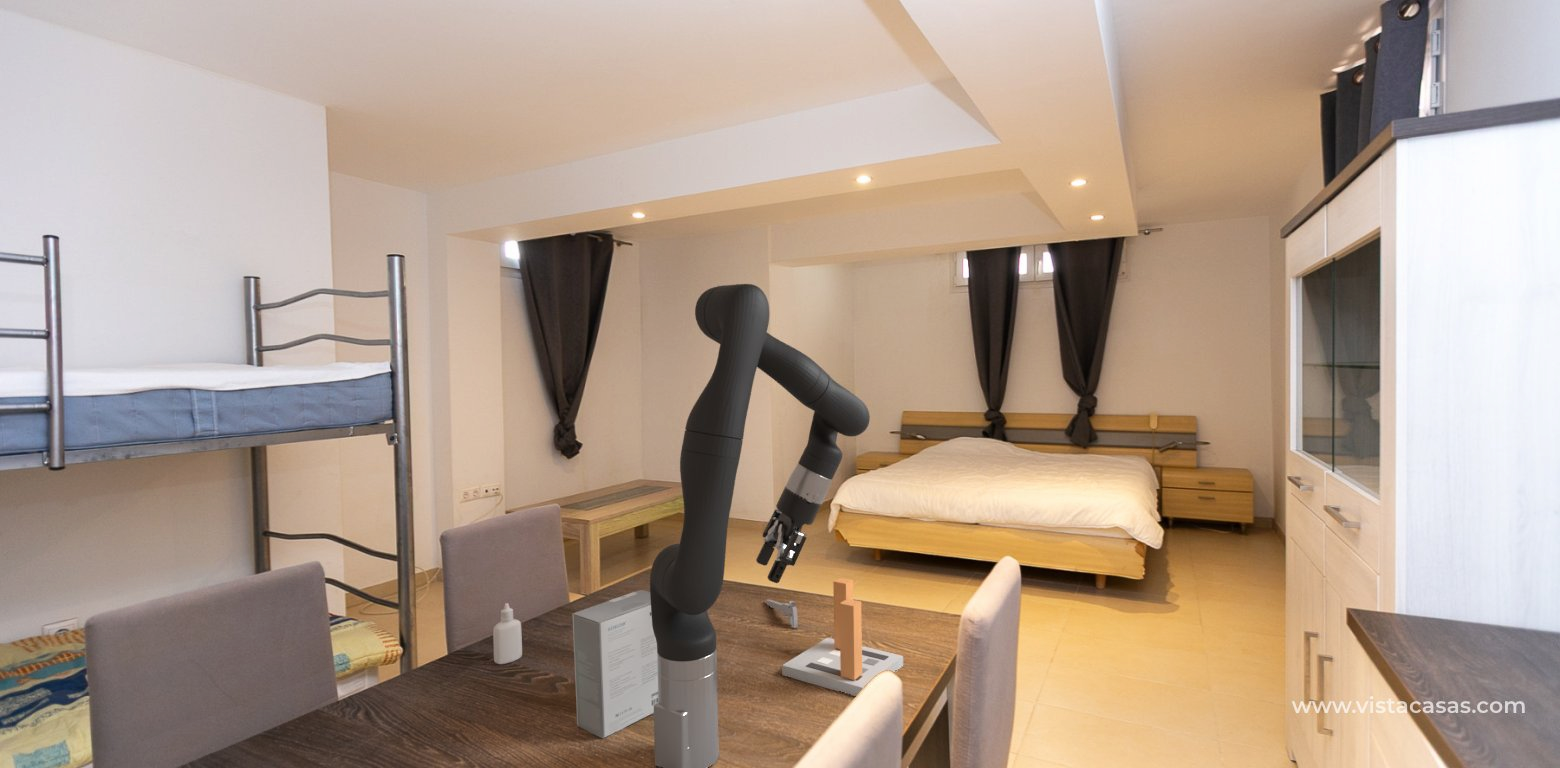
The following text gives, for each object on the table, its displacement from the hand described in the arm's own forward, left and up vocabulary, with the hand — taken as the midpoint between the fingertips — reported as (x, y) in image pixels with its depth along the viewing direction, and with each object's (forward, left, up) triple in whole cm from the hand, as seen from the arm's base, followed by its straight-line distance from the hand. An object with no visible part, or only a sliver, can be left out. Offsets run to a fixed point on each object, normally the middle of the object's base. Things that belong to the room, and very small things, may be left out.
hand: (766, 572), depth 134 cm
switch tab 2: (+11, -11, -21) cm, 26 cm away
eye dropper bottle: (-17, +56, -23) cm, 63 cm away
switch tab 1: (+22, -3, -21) cm, 31 cm away
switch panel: (+17, -6, -23) cm, 29 cm away
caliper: (+36, +23, -24) cm, 48 cm away
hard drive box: (-20, +17, -23) cm, 35 cm away
